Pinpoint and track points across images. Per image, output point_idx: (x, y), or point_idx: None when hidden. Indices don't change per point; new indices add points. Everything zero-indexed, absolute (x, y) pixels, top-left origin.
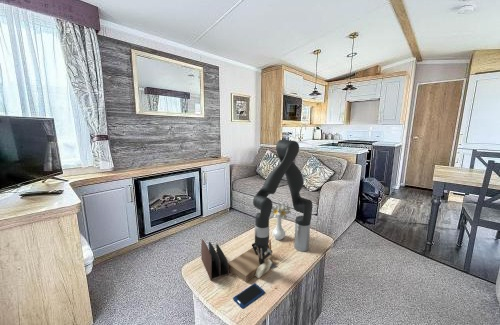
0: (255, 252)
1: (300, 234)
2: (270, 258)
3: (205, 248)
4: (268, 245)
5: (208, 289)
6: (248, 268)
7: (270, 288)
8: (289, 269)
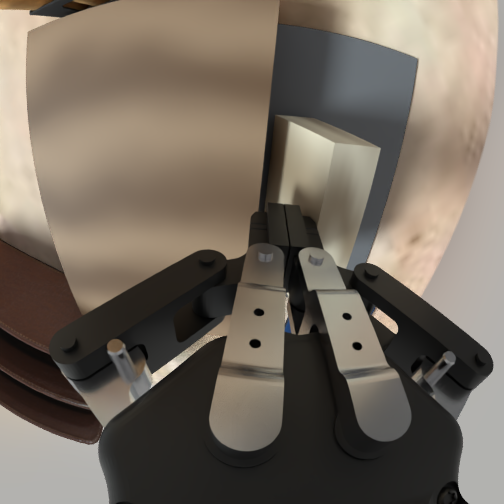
0: (186, 321)
1: None
2: (276, 26)
3: (13, 395)
4: (457, 469)
5: (159, 373)
6: None
7: (389, 257)
8: (437, 33)
